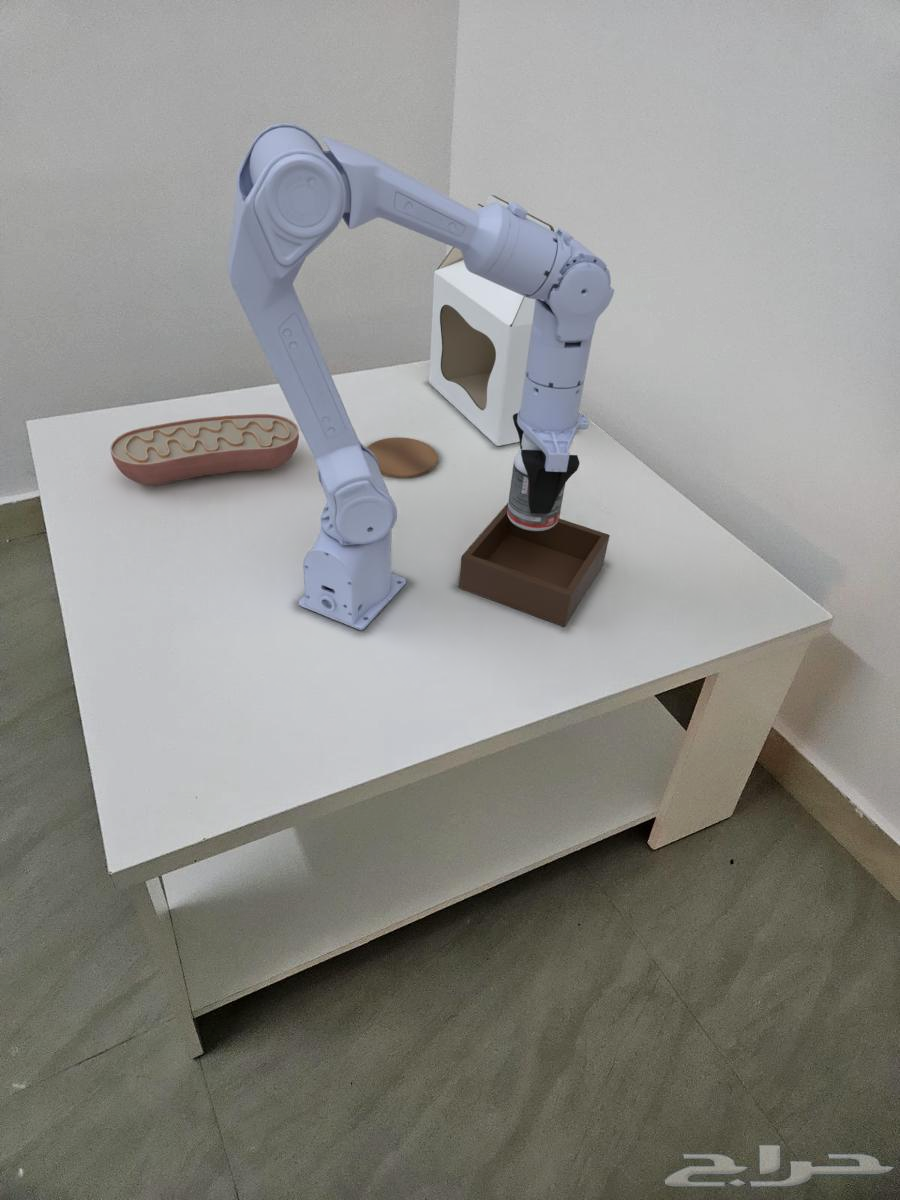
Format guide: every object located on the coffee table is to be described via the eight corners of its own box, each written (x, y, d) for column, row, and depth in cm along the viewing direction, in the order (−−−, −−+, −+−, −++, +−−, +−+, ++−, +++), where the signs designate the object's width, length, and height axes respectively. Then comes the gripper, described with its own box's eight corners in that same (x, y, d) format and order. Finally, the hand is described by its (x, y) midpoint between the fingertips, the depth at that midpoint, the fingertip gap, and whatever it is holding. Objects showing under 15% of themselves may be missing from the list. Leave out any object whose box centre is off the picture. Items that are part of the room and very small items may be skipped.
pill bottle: (555, 537, 86) (570, 454, 80) (502, 528, 87) (513, 445, 81) (561, 508, 91) (575, 428, 84) (510, 500, 92) (521, 419, 85)
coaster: (415, 486, 106) (415, 482, 105) (349, 464, 109) (349, 460, 109) (450, 453, 113) (450, 450, 112) (387, 433, 116) (387, 430, 116)
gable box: (427, 382, 129) (436, 190, 111) (499, 370, 134) (519, 185, 117) (497, 448, 115) (521, 239, 97) (575, 432, 120) (611, 230, 102)
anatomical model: (121, 504, 98) (113, 468, 95) (114, 463, 105) (106, 428, 102) (308, 477, 106) (306, 443, 102) (290, 440, 113) (288, 407, 109)
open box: (564, 627, 86) (571, 595, 83) (458, 587, 90) (461, 556, 87) (603, 565, 95) (610, 534, 92) (504, 532, 99) (508, 501, 96)
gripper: (610, 412, 73) (584, 536, 82) (582, 347, 84) (562, 461, 93) (532, 409, 73) (515, 534, 81) (515, 343, 84) (501, 459, 92)
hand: (536, 495), depth 87 cm, fingers closed on pill bottle, 5 cm apart
